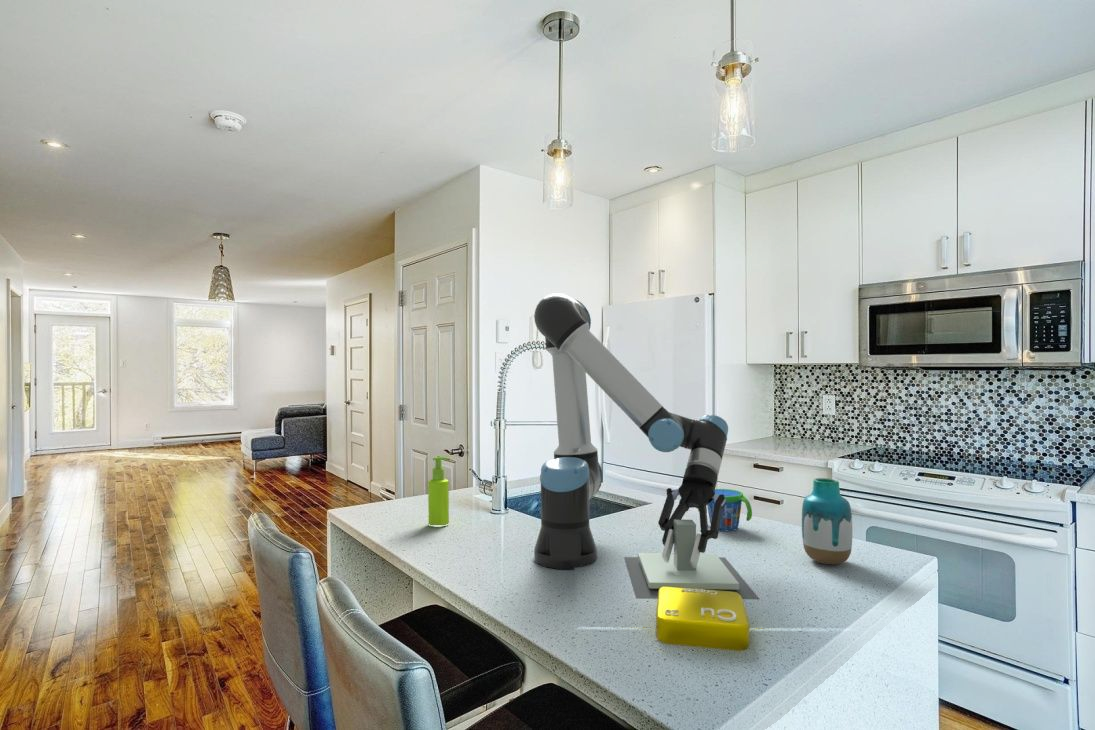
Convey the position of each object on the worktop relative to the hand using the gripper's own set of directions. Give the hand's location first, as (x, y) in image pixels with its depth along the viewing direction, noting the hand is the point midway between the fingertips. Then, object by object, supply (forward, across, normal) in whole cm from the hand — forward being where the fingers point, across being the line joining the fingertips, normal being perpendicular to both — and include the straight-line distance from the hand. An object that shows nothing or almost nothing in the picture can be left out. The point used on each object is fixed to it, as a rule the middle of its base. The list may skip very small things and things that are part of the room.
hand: (679, 561), depth 119 cm
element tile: (+16, -10, +9) cm, 20 cm away
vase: (-18, -25, -24) cm, 39 cm away
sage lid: (0, 0, -5) cm, 5 cm away
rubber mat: (+1, 0, -6) cm, 6 cm away
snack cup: (-29, +2, -36) cm, 46 cm away
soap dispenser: (-2, +75, -9) cm, 76 cm away
